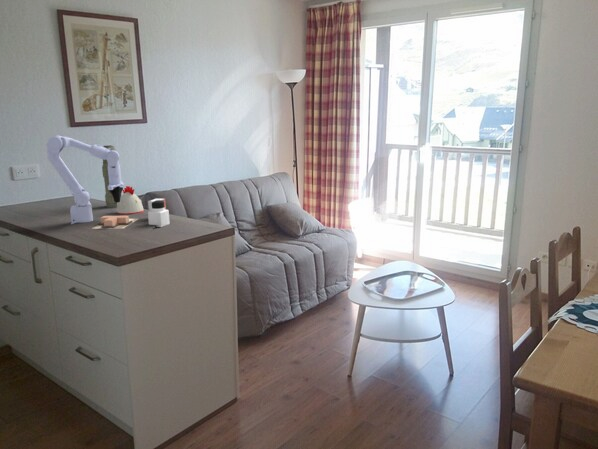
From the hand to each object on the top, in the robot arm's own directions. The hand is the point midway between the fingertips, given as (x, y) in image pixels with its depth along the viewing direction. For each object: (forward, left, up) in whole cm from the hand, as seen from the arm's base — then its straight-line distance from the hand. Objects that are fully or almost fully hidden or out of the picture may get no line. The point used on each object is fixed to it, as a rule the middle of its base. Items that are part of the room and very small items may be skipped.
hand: (117, 202), depth 238 cm
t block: (+3, -14, -8) cm, 17 cm away
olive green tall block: (-18, +37, -10) cm, 42 cm away
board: (+3, -11, -9) cm, 15 cm away
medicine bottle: (+24, -11, -10) cm, 28 cm away
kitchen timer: (0, +17, -10) cm, 19 cm away
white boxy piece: (+20, 0, -10) cm, 22 cm away
